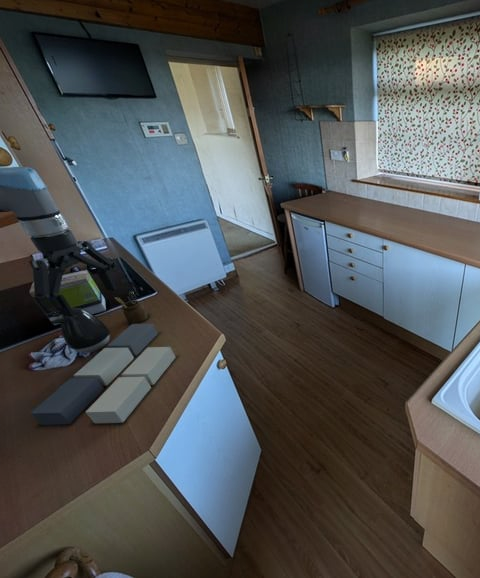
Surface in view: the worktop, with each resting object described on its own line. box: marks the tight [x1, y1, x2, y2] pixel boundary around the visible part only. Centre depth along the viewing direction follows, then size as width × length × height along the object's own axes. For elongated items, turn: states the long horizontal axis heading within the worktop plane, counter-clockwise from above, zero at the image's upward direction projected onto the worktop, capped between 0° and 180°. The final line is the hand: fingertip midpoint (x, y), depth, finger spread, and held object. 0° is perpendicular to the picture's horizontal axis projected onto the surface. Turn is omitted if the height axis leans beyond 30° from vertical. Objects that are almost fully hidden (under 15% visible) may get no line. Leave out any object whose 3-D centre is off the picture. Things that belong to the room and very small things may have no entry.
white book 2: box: [85, 376, 152, 424], centre depth 77 cm, size 7×11×4 cm, turn 2°
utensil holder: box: [114, 292, 148, 325], centre depth 107 cm, size 6×6×12 cm
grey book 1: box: [29, 377, 105, 426], centre depth 76 cm, size 7×11×4 cm, turn 2°
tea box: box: [28, 269, 107, 326], centre depth 110 cm, size 15×10×15 cm, turn 130°
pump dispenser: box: [50, 308, 111, 354], centre depth 93 cm, size 10×10×15 cm
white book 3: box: [121, 346, 176, 386], centre depth 87 cm, size 7×11×4 cm, turn 2°
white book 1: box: [73, 347, 135, 387], centre depth 87 cm, size 7×11×4 cm, turn 2°
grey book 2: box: [107, 323, 159, 357], centre depth 97 cm, size 7×11×4 cm, turn 2°
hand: (92, 301), depth 85 cm, fingers open, 13 cm apart
